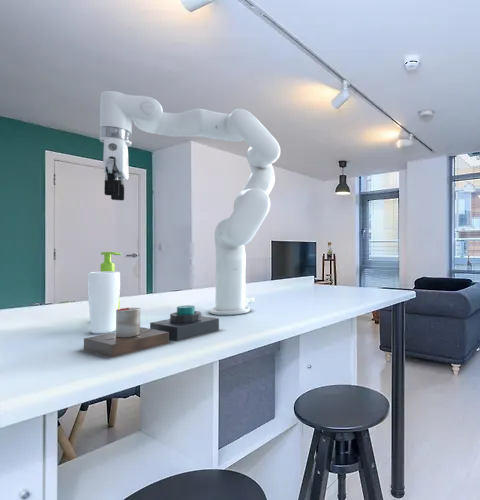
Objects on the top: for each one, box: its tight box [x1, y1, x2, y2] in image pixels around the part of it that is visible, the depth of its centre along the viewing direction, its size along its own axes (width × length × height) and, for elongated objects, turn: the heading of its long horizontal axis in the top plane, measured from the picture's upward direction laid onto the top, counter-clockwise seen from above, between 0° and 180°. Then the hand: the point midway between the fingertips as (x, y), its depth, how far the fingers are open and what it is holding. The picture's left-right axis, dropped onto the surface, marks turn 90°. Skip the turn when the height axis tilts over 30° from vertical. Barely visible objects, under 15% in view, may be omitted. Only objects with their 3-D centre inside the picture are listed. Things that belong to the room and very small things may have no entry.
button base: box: [149, 310, 220, 342], centre depth 87 cm, size 12×10×5 cm
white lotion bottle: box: [86, 270, 121, 335], centre depth 88 cm, size 7×7×15 cm
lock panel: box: [83, 326, 170, 358], centre depth 74 cm, size 12×10×3 cm
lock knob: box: [115, 307, 141, 337], centre depth 74 cm, size 4×4×6 cm
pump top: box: [176, 304, 196, 315], centre depth 87 cm, size 4×4×2 cm
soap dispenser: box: [100, 251, 123, 309], centre depth 101 cm, size 6×7×20 cm
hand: (114, 197), depth 99 cm, fingers open, 9 cm apart
